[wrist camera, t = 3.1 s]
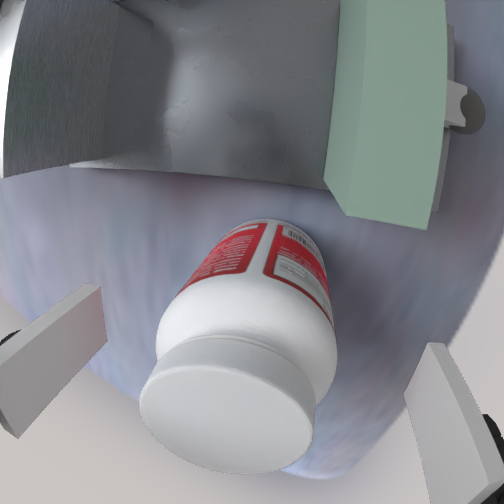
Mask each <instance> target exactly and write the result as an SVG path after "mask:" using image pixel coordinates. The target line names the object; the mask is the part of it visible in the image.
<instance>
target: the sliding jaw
mask: <svg viewBox="0 0 504 504" xmlns="http://www.w3.org/2000/svg"><path fill="white" fill-rule="evenodd" d="M484 120H485V108H484V105H483V102H482V100H481V99H480V97H479V96H478V95H477V94H476V93H475V92H474V91H473V90H471V89H469V88H467V86H464V85H462V84H459V83H456V82H454V81H451V80H448V79H447V24H446V9H445V0H341V1H340V19H339V35H338V50H337V62H336V74H335V85H334V95H333V105H332V114H331V123H330V132H329V140H328V148H327V156H326V163H325V171H324V178H323V180H324V181H325V183H326V184H327V186H328V188H329V189H330V191H331V192H332V194H333V196H334V197H335V199H336V201H337V202H338V204H339V206H340V207H341V209H342V211H343V212H344V214H345V215H346V216H352V217H358V218H364V219H369V220H375V221H380V222H386V223H391V224H397V225H402V226H407V227H412V228H417V229H423V230H427V226H428V221H429V217H430V212H431V207H432V202H433V197H434V192H435V187H436V181H437V175H438V169H439V162H440V155H441V147H442V139H443V130H444V127H446V128H451V129H452V130H454V131H455V132H458V133H460V134H472V133H474V132H476V131H478V130H479V129H480V128H481V126H482V125H483V123H484Z"/></svg>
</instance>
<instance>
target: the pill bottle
mask: <svg viewBox="0 0 504 504" xmlns="http://www.w3.org/2000/svg"><path fill="white" fill-rule="evenodd" d="M156 355H157V360H158V362H157V364H156V365H155V367H154V369H153V371H152V373H151V375H150V377H149V378H148V380H147V382H146V383H145V385H144V387H143V389H142V392H141V395H140V403H139V407H140V413H141V417H142V419H143V421H144V423H145V425H146V427H147V428H148V430H149V431H150V433H151V434H152V435H153V436H154V437H155V438H156V440H157V441H159V442H160V443H161V444H162V445H163V446H164V447H165V448H166V449H168V450H169V451H171V452H172V453H174V454H175V455H177V456H178V457H180V458H182V459H184V460H186V461H188V462H190V463H192V464H195V465H197V466H200V467H203V468H207V469H209V470H213V471H218V472H223V473H230V474H240V475H241V474H242V475H250V474H261V473H268V472H272V471H276V470H280V469H282V468H285V467H287V466H289V465H291V464H293V463H294V462H296V461H297V460H299V459H300V458H301V457H302V456H303V455H304V454H305V453H306V452H307V450H308V449H309V447H310V446H311V443H312V440H313V436H314V423H315V411H316V405H317V404H318V403H319V402H320V401H321V400H322V399H323V397H324V396H325V395H326V393H327V392H328V390H329V388H330V386H331V384H332V382H333V379H334V376H335V372H336V367H337V357H338V355H337V343H336V335H335V328H334V322H333V315H332V308H331V302H330V295H329V289H328V282H327V276H326V270H325V266H324V262H323V259H322V256H321V253H320V251H319V249H318V247H317V246H316V244H315V243H314V242H313V240H312V239H311V238H310V237H309V236H308V235H307V234H306V233H305V232H303V231H302V230H301V229H299V228H298V227H296V226H294V225H292V224H290V223H287V222H284V221H280V220H276V219H257V220H252V221H248V222H245V223H243V224H240V225H238V226H237V227H235V228H233V229H232V230H231V231H229V232H228V233H227V234H226V235H225V236H224V237H223V238H222V239H221V240H220V241H219V243H218V244H217V245H216V246H215V248H214V249H213V250H212V251H211V252H210V254H209V255H208V256H207V257H206V259H205V260H204V261H203V263H202V264H201V265H200V266H199V267H198V269H197V270H196V271H195V273H194V274H193V275H192V276H191V278H190V279H189V280H188V281H187V283H186V284H185V285H184V286H183V288H182V289H181V290H180V291H179V293H178V294H177V295H176V296H175V298H174V299H173V301H172V302H171V303H170V305H169V306H168V308H167V309H166V311H165V313H164V315H163V316H162V318H161V321H160V324H159V327H158V331H157V336H156Z"/></svg>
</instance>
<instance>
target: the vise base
mask: <svg viewBox="0 0 504 504" xmlns="http://www.w3.org/2000/svg"><path fill="white" fill-rule="evenodd" d="M340 1H341V0H123V1H119V2H114V3H113V2H111V1H109V0H4V1H3V4H2V7H1V10H0V178H6V177H10V176H14V175H19V174H23V173H28V172H32V171H37V170H42V169H47V168H52V167H57V166H63V165H68V164H69V167H78V168H110V169H132V170H149V171H164V172H177V173H189V174H200V175H211V176H221V177H230V178H239V179H248V180H256V181H264V182H272V183H280V184H287V185H294V186H301V187H308V188H314V189H321V190H327V191H330V189H329V188H328V186H327V184H326V183H325V181H324V180H323V178H324V171H325V163H326V156H327V148H328V140H329V132H330V123H331V114H332V105H333V95H334V85H335V74H336V62H337V50H338V35H339V19H340ZM447 79H448V80H451V81H454V28H453V26H451V25H448V24H447ZM450 133H451V128H446V127H444V130H443V139H442V147H441V155H440V162H439V169H438V175H437V181H436V187H435V192H434V197H433V202H432V207H431V211H436V212H438V209H439V204H440V199H441V194H442V189H443V183H444V177H445V171H446V164H447V157H448V150H449V142H450Z"/></svg>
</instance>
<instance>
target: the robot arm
mask: <svg viewBox="0 0 504 504" xmlns="http://www.w3.org/2000/svg"><path fill="white" fill-rule="evenodd" d="M3 1H4V0H0V10H1V7H2V4H3ZM106 342H107V335H106V329H105V322H104V314H103V306H102V298H101V289H100V287H99V286H95V285H91V284H88V283H86V284H84V285H83V286H81V287H80V288H79V289H77V290H76V291H74V292H73V293H71V294H70V295H69V296H67V297H66V298H64V299H63V300H61V301H60V302H59V303H57V304H56V305H54V306H53V307H52V308H50V309H49V310H47V311H46V312H45V313H43V314H42V315H41V316H39V317H38V318H37V319H35V320H34V321H32V322H31V323H30V324H28V325H27V326H26V327H24V328H23V329H21V330H18V331H16V332H13V333H11V334H9V335H8V336H6V337H5V338H4V339H3V340H1V342H0V423H1V425H2V426H3V428H4V429H5V430H6V431H8V432H9V433H10V434H12V435H13V436H15V437H16V438H17V439H18V438H19V437H20V436H21V435H22V434H23V433H24V432H25V430H26V429H27V428H28V427H29V426H30V425H31V424H32V422H33V421H34V420H35V419H36V418H37V417H38V416H39V415H40V413H41V412H42V411H43V410H44V409H45V408H46V407H47V405H48V404H49V403H50V402H51V401H52V400H53V399H54V398H55V397H56V396H57V395H58V393H59V392H60V391H61V390H62V389H63V388H64V387H65V386H66V385H67V384H68V382H70V380H71V379H72V378H73V377H74V376H75V375H76V374H77V373H78V372H79V371H80V370H81V369H82V368H83V366H84V365H85V364H86V363H87V362H88V361H89V360H90V359H91V358H92V357H93V356H94V355H95V354H96V353H97V352H98V351H99V350H100V349H101V348H102V346H103V345H104V344H105V343H106ZM404 398H405V401H406V405H407V408H408V412H409V415H410V418H411V422H412V426H413V430H414V433H415V437H416V441H417V445H418V449H419V453H420V457H421V462H422V466H423V470H424V475H425V479H426V484H427V489H428V494H429V499H430V504H504V439H503V437H501V433H500V431H499V429H498V427H497V425H496V423H495V422H494V421H493V420H492V419H491V418H490V417H489V416H488V414H481V412H480V409H479V407H478V405H477V404H476V401H475V399H474V398H473V396H472V393H471V392H470V390H469V388H468V386H467V384H466V382H465V380H464V378H463V377H462V375H461V373H460V371H459V369H458V367H457V365H456V364H455V362H454V360H453V358H452V357H451V355H450V353H449V351H448V350H447V348H446V346H445V344H444V343H434V342H428V343H427V345H426V348H425V350H424V352H423V355H422V357H421V359H420V361H419V364H418V366H417V368H416V370H415V372H414V374H413V376H412V378H411V381H410V383H409V385H408V387H407V389H406V391H405V393H404Z"/></svg>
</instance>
